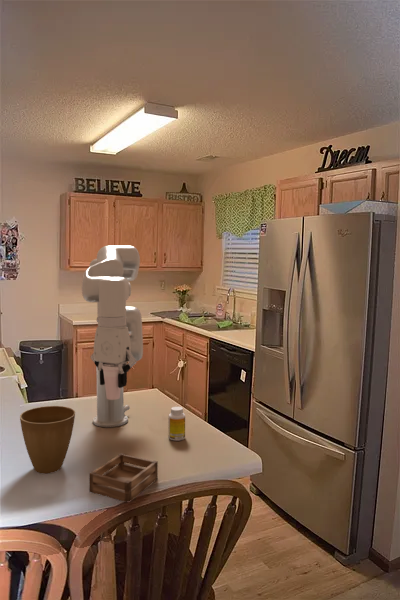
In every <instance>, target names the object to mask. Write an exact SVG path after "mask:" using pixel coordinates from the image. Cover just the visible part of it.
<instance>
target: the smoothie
mask: <svg viewBox="0 0 400 600" xmlns="http://www.w3.org/2000/svg"><path fill="white" fill-rule="evenodd" d="M122 365H123V364H122ZM123 368H124V365H123ZM102 369H103V373H104V381H105V389H106V397H107V399H109V400H116V399H119V398H120V391H121V388H119V387H118V374H119V373H120V371H119V367H118V364H110V363H104V364H102Z"/></svg>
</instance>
